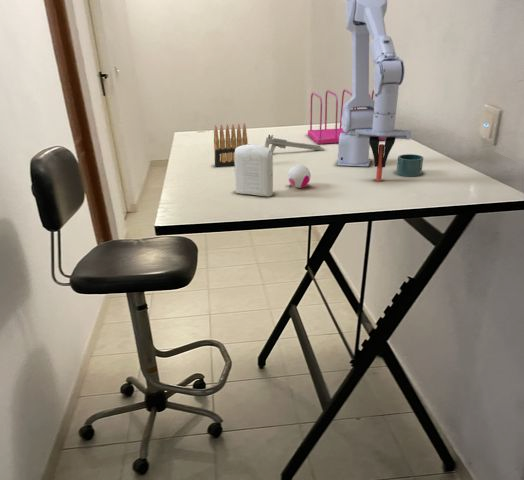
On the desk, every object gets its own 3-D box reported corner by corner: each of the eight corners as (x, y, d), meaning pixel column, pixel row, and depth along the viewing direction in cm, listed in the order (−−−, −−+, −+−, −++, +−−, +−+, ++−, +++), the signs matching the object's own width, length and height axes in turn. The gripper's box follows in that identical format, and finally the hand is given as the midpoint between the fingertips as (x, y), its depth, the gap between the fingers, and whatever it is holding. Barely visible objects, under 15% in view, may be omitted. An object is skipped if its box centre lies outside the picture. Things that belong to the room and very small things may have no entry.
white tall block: (275, 193, 139) (275, 144, 133) (269, 197, 136) (268, 147, 129) (239, 189, 143) (237, 141, 136) (233, 194, 139) (230, 145, 133)
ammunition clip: (248, 163, 167) (246, 122, 160) (249, 164, 165) (247, 123, 159) (214, 165, 165) (211, 124, 159) (215, 167, 164) (212, 125, 157)
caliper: (265, 154, 176) (265, 134, 172) (265, 154, 177) (264, 134, 173) (324, 150, 179) (324, 130, 176) (323, 149, 180) (323, 130, 177)
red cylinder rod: (375, 181, 147) (378, 145, 141) (375, 179, 148) (379, 144, 143) (380, 181, 146) (384, 145, 141) (381, 179, 147) (384, 144, 142)
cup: (395, 175, 150) (397, 159, 148) (396, 169, 156) (398, 153, 154) (421, 177, 149) (423, 160, 146) (421, 170, 154) (423, 154, 152)
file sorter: (385, 140, 189) (390, 92, 180) (317, 144, 186) (319, 95, 178) (370, 131, 203) (374, 86, 195) (307, 134, 201) (308, 89, 192)
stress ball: (301, 203, 142) (315, 184, 138) (278, 184, 141) (291, 164, 137) (309, 194, 148) (323, 175, 143) (287, 176, 147) (300, 156, 143)
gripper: (355, 114, 136) (351, 168, 143) (413, 115, 133) (406, 170, 140) (358, 110, 141) (354, 162, 149) (413, 111, 138) (407, 164, 146)
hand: (379, 166), depth 145 cm, fingers closed on red cylinder rod, 1 cm apart
